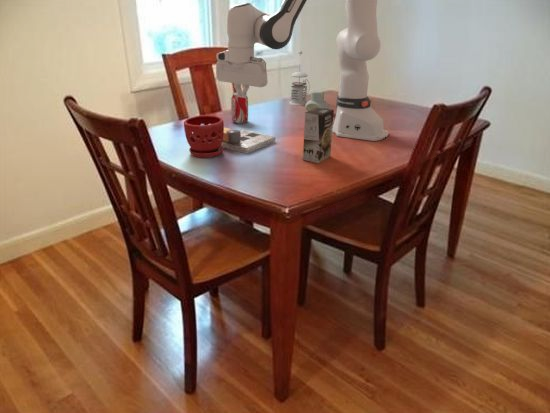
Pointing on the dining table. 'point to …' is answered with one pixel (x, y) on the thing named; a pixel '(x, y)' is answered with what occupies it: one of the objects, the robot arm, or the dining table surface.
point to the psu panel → (249, 142)
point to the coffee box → (318, 134)
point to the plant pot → (204, 135)
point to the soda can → (239, 108)
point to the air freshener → (316, 101)
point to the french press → (299, 89)
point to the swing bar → (231, 135)
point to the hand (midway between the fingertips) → (241, 97)
